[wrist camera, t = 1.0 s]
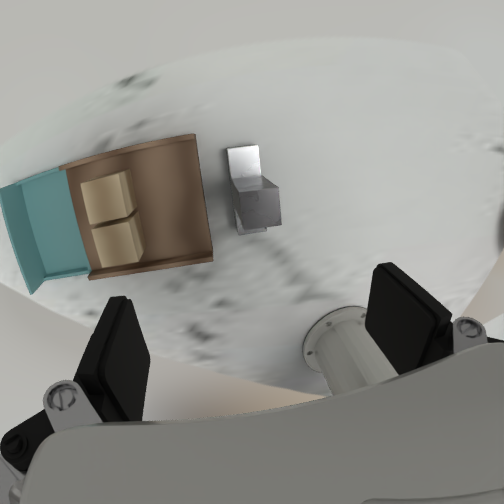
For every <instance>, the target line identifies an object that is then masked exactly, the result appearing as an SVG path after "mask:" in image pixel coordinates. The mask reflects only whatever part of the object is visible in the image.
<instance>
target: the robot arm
mask: <svg viewBox="0 0 504 504" xmlns="http://www.w3.org/2000/svg"><path fill="white" fill-rule="evenodd" d="M451 317H452V313H451V312H450V311H449V310H447V309H446V308H445V307H444V306H443V305H442V304H441V303H440V302H438V301H437V300H436V299H435V298H434V297H433V296H432V295H430V294H429V293H428V292H427V291H426V290H425V289H424V288H422V287H421V286H420V285H419V284H418V283H416V282H415V281H414V280H413V279H412V278H410V277H409V276H408V275H407V274H406V273H404V272H403V271H402V270H401V269H400V268H398V267H397V266H396V265H395V264H393V263H392V262H388V263H382V264H378V265H377V267H376V268H375V269H374V270H373V276H372V283H371V289H370V295H369V301H368V307H367V309H365V308H362V307H347V308H343V309H339V310H337V311H334V312H332V313H331V314H329V315H327V316H325V317H324V318H323V319H321V320H320V321H319V322H318V323H317V324H316V325H315V326H314V327H313V328H312V329H311V331H310V332H309V333H308V335H307V337H306V339H305V342H304V345H303V355H304V358H305V361H306V363H307V364H308V366H309V367H310V368H311V369H313V370H315V371H317V372H320V373H323V375H324V377H325V379H326V381H327V383H328V386H329V388H330V390H331V392H332V394H333V396H330V397H326V398H322V399H318V400H313V401H309V402H305V403H300V404H296V405H290V406H285V407H281V408H275V409H269V410H263V411H257V412H251V413H243V414H236V415H228V416H219V417H209V418H197V419H183V420H166V421H142V416H143V408H144V401H145V392H146V386H147V380H148V373H149V367H150V354H149V351H148V349H147V346H146V343H145V340H144V337H143V334H142V331H141V328H140V325H139V322H138V319H137V316H136V313H135V310H134V306H133V303H132V301H131V299H127V298H126V296H116V297H110V298H109V301H108V303H107V305H106V307H105V309H104V311H103V313H102V315H101V317H100V320H99V322H98V324H97V326H96V328H95V331H94V333H93V334H92V336H91V338H90V340H89V342H88V345H87V347H86V349H85V352H84V354H83V356H82V359H81V361H80V364H79V366H78V369H77V372H76V374H75V376H74V379H73V381H71V380H63V381H59V382H57V383H55V384H53V385H52V386H50V387H49V388H48V390H47V391H46V393H45V394H44V398H43V405H44V408H45V409H44V410H42V411H41V412H39V413H37V414H36V415H34V416H33V417H31V418H29V419H27V420H26V421H24V422H22V423H21V424H19V425H18V426H16V427H14V428H13V429H11V430H10V431H8V432H7V433H6V434H5V435H4V436H3V438H2V441H1V443H0V451H1V454H0V504H504V341H503V340H499V339H494V338H490V337H487V335H486V330H485V328H484V326H483V325H482V324H481V323H480V322H478V321H477V320H475V319H473V318H470V317H459V318H457V319H455V321H454V322H453V323H452V322H451V321H450V320H451Z"/></svg>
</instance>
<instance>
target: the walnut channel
mask: <svg viewBox="0 0 504 504" xmlns="http://www.w3.org/2000/svg"><path fill="white" fill-rule="evenodd" d="M65 169H66V175H67V180H68V185H69V189H70V194H71V199H72V203H73V207H74V211H75V215H76V219H77V223H78V227H79V230H80V234H81V238H82V241H83V244H84V248H85V251H86V254H87V257H88V261H89V264H90V267H91V270H92V271H91V273H90V274H89V275H88V279H89V280H96V279H102V278H109V277H115V276H122V275H128V274H135V273H141V272H147V271H154V270H160V269H167V268H173V267H180V266H186V265H192V264H199V263H205V262H212V261H213V247H212V241H211V236H210V229H209V223H208V217H207V211H206V205H205V198H204V192H203V185H202V178H201V171H200V164H199V157H198V150H197V143H196V135H195V134H188V135H182V136H176V137H171V138H166V139H161V140H156V141H151V142H146V143H142V144H137V145H133V146H129V147H125V148H121V149H117V150H113V151H109V152H105V153H102V154H98V155H94V156H91V157H87V158H84V159H81V160H77V161H74V162H71V163H68V164H65V165H62V166H59V171H62V170H65ZM127 169H130V172H131V177H132V183H133V188H134V193H135V198H136V203H137V207H136V208H135V209H134V210H133V211H132V212H135V211H138V212H139V217H140V222H141V226H142V230H143V234H144V239H145V243H146V248H145V250H144V252H143V254H142V256H141V258H140V260H139V262H134V263H128V264H122V265H116V266H110V267H104V268H102V265H101V262H100V258H99V255H98V252H97V248H96V245H95V242H94V238H93V234H92V231H91V229H93V228H94V227H95V226H96V225H97V224H98V223H95V224H91V225H90V223H89V219H88V215H87V211H86V207H85V203H84V198H83V194H82V189H81V183H83V182H86V181H88V180H90V179H93V178H95V177H98V176H102V175H106V174H110V173H114V172H118V171H123V170H127Z"/></svg>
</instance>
